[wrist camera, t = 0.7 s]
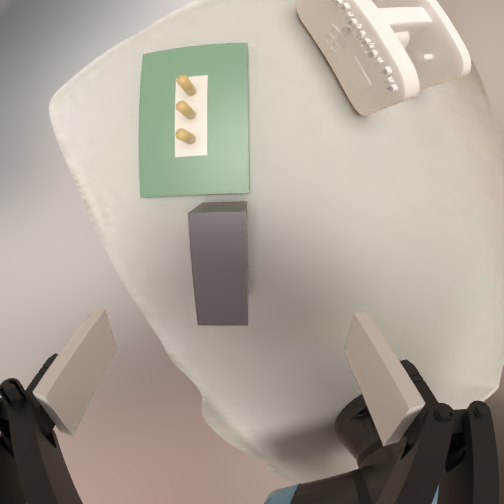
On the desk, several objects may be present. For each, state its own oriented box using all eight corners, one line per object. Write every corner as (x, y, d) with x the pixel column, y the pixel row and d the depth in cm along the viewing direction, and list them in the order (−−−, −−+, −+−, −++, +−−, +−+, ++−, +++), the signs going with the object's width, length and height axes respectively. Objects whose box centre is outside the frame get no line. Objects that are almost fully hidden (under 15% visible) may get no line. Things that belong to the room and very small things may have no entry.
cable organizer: (419, 98, 24) (483, 79, 13) (351, 121, 25) (408, 98, 14) (360, 0, 20) (397, -47, 9) (287, 13, 21) (304, -48, 10)
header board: (249, 191, 27) (249, 196, 22) (145, 196, 27) (124, 203, 22) (247, 48, 23) (247, 24, 17) (147, 59, 23) (129, 40, 17)
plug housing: (248, 292, 31) (248, 325, 24) (208, 292, 30) (197, 325, 24) (246, 201, 28) (245, 211, 21) (202, 202, 28) (188, 213, 21)
